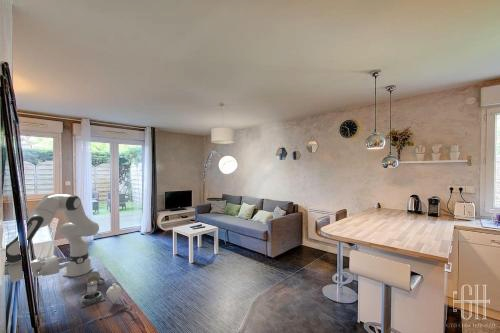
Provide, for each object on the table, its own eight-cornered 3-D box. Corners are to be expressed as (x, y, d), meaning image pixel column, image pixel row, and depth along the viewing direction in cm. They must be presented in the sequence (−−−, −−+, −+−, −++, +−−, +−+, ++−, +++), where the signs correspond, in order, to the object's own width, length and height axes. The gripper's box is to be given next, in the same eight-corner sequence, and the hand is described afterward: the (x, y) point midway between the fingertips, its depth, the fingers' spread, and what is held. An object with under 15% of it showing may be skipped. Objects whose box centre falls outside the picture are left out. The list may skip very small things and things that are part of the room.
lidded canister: (85, 298, 141) (86, 282, 141) (95, 295, 144) (96, 279, 145) (87, 302, 137) (88, 285, 137) (97, 299, 141) (98, 282, 141)
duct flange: (78, 299, 141) (78, 294, 141) (100, 292, 149) (101, 288, 149) (81, 308, 132) (81, 303, 132) (105, 300, 141) (105, 296, 141)
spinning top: (107, 301, 140) (107, 281, 140) (121, 298, 143) (122, 279, 143) (104, 308, 133) (105, 288, 133) (119, 305, 136) (120, 285, 136)
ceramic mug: (86, 288, 153) (86, 277, 153) (87, 283, 160) (87, 272, 160) (104, 284, 159) (105, 273, 159) (104, 279, 166) (105, 269, 166)
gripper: (36, 269, 118) (70, 262, 128) (36, 256, 133) (66, 250, 143) (36, 281, 118) (70, 273, 128) (36, 267, 133) (66, 260, 143)
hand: (68, 261), depth 135 cm, fingers open, 8 cm apart
